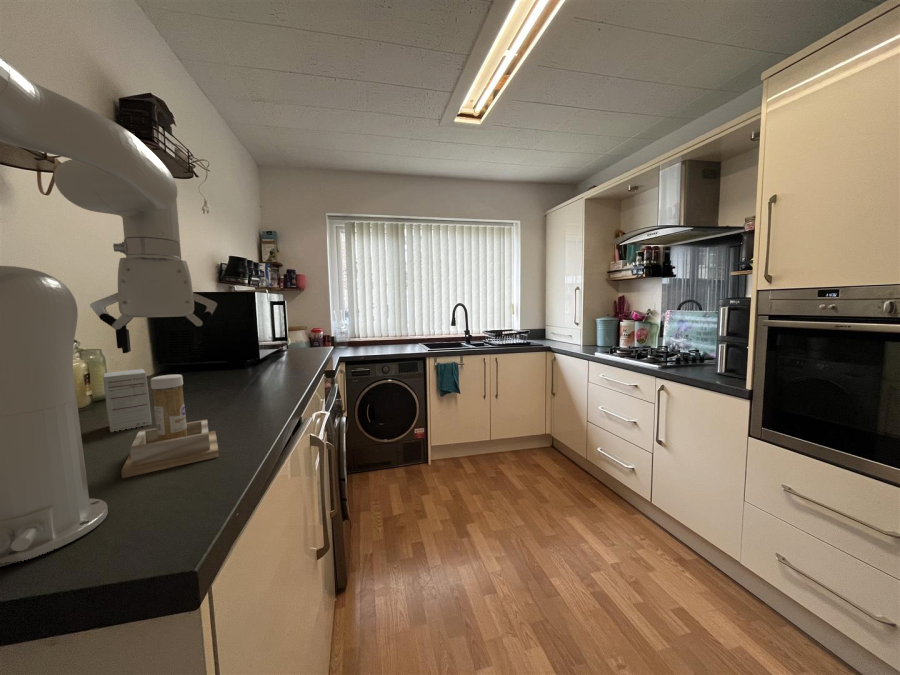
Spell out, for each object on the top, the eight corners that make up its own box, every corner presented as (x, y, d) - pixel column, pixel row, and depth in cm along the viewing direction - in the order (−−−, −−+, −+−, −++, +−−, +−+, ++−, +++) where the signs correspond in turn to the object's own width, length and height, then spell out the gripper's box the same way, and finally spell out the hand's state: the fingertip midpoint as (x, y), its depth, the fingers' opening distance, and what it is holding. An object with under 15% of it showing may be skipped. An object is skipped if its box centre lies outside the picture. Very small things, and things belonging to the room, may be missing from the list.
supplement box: (109, 425, 85) (103, 372, 84) (150, 418, 90) (144, 368, 89) (108, 433, 79) (102, 376, 78) (152, 425, 84) (146, 371, 83)
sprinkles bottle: (188, 449, 65) (181, 376, 64) (156, 455, 63) (148, 379, 62) (189, 441, 69) (183, 372, 68) (159, 447, 67) (152, 375, 66)
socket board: (218, 456, 65) (216, 433, 64) (122, 478, 57) (119, 452, 57) (215, 436, 75) (214, 416, 75) (133, 452, 68) (131, 430, 68)
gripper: (78, 244, 55) (90, 356, 56) (214, 252, 65) (221, 347, 66) (90, 252, 61) (100, 352, 62) (212, 258, 71) (219, 345, 72)
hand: (162, 350), depth 64 cm, fingers open, 9 cm apart
